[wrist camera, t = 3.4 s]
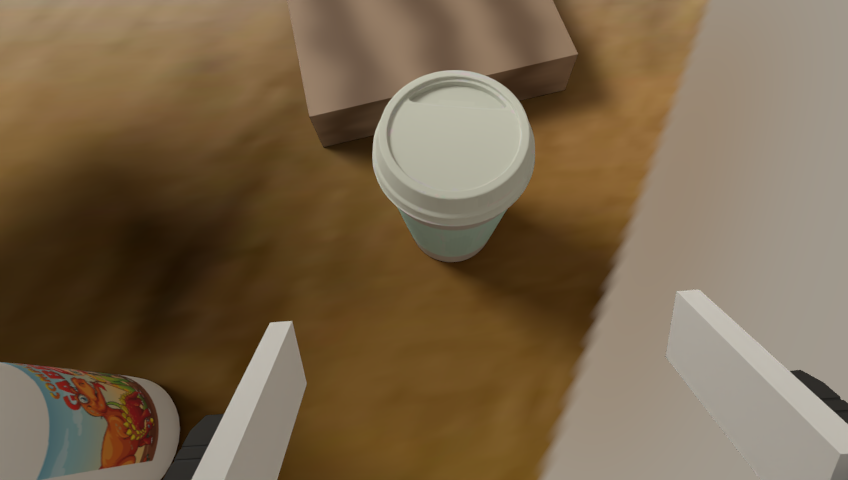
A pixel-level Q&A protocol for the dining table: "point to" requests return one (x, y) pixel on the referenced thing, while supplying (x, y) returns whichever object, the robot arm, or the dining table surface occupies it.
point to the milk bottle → (83, 425)
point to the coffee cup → (453, 159)
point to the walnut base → (419, 52)
